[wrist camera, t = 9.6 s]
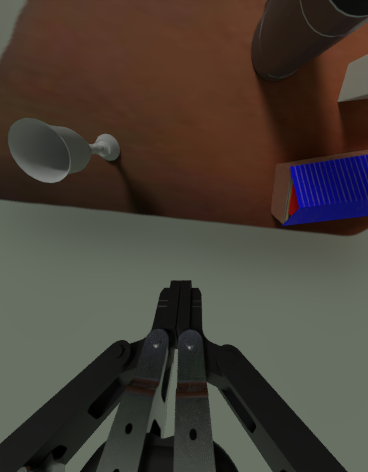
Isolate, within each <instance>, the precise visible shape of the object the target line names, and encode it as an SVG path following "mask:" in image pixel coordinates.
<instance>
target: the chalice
mask: <svg viewBox="0 0 368 472" xmlns="http://www.w3.org/2000/svg"><path fill="white" fill-rule="evenodd" d="M8 145H9V148H10V151H11V154H12V156H13V158H14V159H15V161H16V162H17V164H18V165H19V166H20V167H21V168H22V169H23V170H24V171H25V172H26V173H27V174H29V175H30V176H32V177H33V178H35V179H37V180H40V181H43V182H50V183H53V182H57V181H60V180H62V179H63V178H64V177H66V175H67V174H71V173H75V172H78V171H81V170H82V169H83V168H85V166H86V165H87V164H88V162H89V161H90V158H91V154H94V153H96V154H99V155H100V156H101V157H102V158H104V159H106V160H109V161H112V160H115V159H116V158H117V157H118V156H119V153H120V147H119V144H118V142H117V141H116V139H115V138H114V137H112V136H111V135H109V134H102V135H100V136H99V137H98V138H97V140H96V142H95V144H93V145H92V144H88V143H87V142H86V140H85V139H84V138H83V137H81V136H80V135H79V134H77V133H76V132H74V131H73V130H71V129H68V128H66V127H58V126H49V125H48V124H47V123H44V122H42V121H40V120H37V119H33V118H23V119H20V120H17V121H16V122H15V123H14V124H13V125H12V126H11V128H10V131H9V133H8Z"/></svg>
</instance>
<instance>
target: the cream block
mask: <svg viewBox="0 0 368 472" xmlns="http://www.w3.org/2000/svg"><path fill="white" fill-rule="evenodd" d="M361 99H368V54H367V55H365V56H363V57H361V58H359V59H357V60H355V61H353V62H351V63H349V65H348V68H347V72H346V75H345V78H344V82H343V85H342V89H341V92H340V95H339V99H338V102H343V101H352V100H361Z"/></svg>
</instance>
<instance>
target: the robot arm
mask: <svg viewBox="0 0 368 472" xmlns="http://www.w3.org/2000/svg"><path fill="white" fill-rule="evenodd" d="M367 22H368V0H267V1H266V3H265V10H264V14H263V16H262V18H261V20H260V21H259V23H258V25H257V28H256V30H255V33H254V36H253V41H252V49H251V54H252V62H253V66H254V68H255V70H256V72H257V73H258V74H259V76H260V77H262V78H263V79H265V80H268V81H279V80H282V79H284V78H286V77H288V76H289V75H291V74H293V73H294V72H296V71H297V70H298V69H300V68H301V67H303V66H304V65H306V64H307V63H309V62H310V61H311V60H313V59H314V58H316V57H317V56H319V55H320V54H322V53H323V52H325V51H326V50H328V49H329V48H330V47H332V46H333V45H335V44H336V43H338V42H339V41H341V40H342V39H344V38H345V37H347V36H348V35H349V34H351V33H352V32H354V31H355V30H357V29H358V28H360V27H361V26H363V25H364V24H365V23H367ZM175 349H178V370H177V374H178V375H177V389H176V398H175V399H176V400H175V432H174V436H171V437H168V438H164V439H163V436H164V430H165V423H166V415H167V400H168V394H169V388H170V382H171V376H172V370H173V364H174V351H175ZM206 382H208V383H210V384H212V385H214V386H216V387H217V388H218V390H219V391H220V393H221V394H222V395H223V397H224V399H225V400H226V402H227V403H228V405H229V406H230V408H231V409H232V411H233V412H234V414H235V415H236V417H237V418H238V420H239V421H240V423H241V424H242V426H243V427H244V429H245V430H246V432H247V434H248V435H249V437H250V438H251V439H252V441H253V442H254V444H255V445H256V447H257V448H258V450H259V452H260V453H261V455H262V456H263V458H264V459H265V461H266V462H267V464H268V465H269V467H270V468H271V470H272V471H273V472H347V471H346V470H345V468H344V467H343V466H342V465H341V464H340V463H339V462H338V461H337V460H336V458H335V457H334V456H333V455H332V454H331V453H330V452H329V451H328V449H326V447H325V446H324V445H323V444H322V443H321V442H320V441H319V439H318V438H317V437H316V436H315V435H314V434H313V433H312V432H311V430H309V428H308V427H307V426H306V425H305V424H304V423H303V422H302V420H301V419H300V418H299V417H298V416H297V415H296V414H295V412H294V411H293V410H292V409H291V408H290V407H289V406H288V405H287V403H286V402H285V401H284V400H283V399H282V398H281V397H280V396H279V395H278V393H277V392H276V391H275V390H274V389H273V388H272V387H271V386H270V384H269V383H268V382H267V381H266V380H265V379H264V378H263V377H262V376H261V374H260V373H259V372H258V371H257V370H256V369H255V368H254V367H253V365H252V364H251V363H250V362H249V361H248V360H247V359H246V358H245V356H244V355H242V353H241V352H240V351H239V350H238V349H237V348H236V347H234V346H232V345H228V344H227V345H223V346H219V345H217V344H214V343H212V342H210V341H209V340H208V339H207V338H206V337H205V336H204V334H203V330H202V301H201V292H200V290H199V288H192V283H191V280H189V281H188V280H187V281H184V280H183V281H171V285H170V288H164V289H163V290H162V292H161V293H160V297H159V301H158V305H157V309H156V314H155V318H154V322H153V326H152V330H151V332H150V333H149V334H148V335H147V337H146V338H144V339H142V340H140V341H137V342H134V343H131V344H129V343H128V342H127V341H125V340H120V341H117V342H115V343H113V344H112V345H111V346H110V347H109V348H107V349H106V350H105V351H104V352H103V353H102V354H101V355H100V356H98V357H97V358H96V359H95V360H94V361H93V362H92V363H91V364H89V365H88V366H87V367H86V368H85V369H84V370H83V371H82V372H81V373H79V374H78V375H77V376H76V377H75V378H74V379H73V380H71V381H70V382H69V383H68V384H67V385H66V386H65V387H64V388H62V389H61V390H60V391H59V392H58V393H57V394H56V395H55V396H53V397H52V398H51V399H50V400H49V401H48V402H47V403H46V404H44V405H43V406H42V407H41V408H40V409H39V410H38V411H36V412H35V413H34V414H33V415H32V416H31V417H30V418H29V419H28V420H26V421H25V422H24V423H23V424H22V425H21V426H20V427H19V428H18V429H16V430H15V431H14V432H13V433H12V434H11V435H10V436H8V437H7V438H6V439H5V440H4V441H3V442H2V443H1V444H0V472H64V471H65V465H66V464H67V463H68V461H69V460H70V459H71V458H72V457H73V456H74V455H75V453H76V452H77V451H78V450H79V449H80V448H81V446H82V445H83V444H84V443H85V442H86V440H87V439H88V438H89V437H90V436H91V435H92V434H93V433H94V431H95V430H96V429H97V428H98V427H99V426H100V425H101V423H102V422H103V421H104V420H105V419H106V418H107V416H108V415H109V414H110V413H111V412H112V411H113V409H114V408H115V407H116V406H117V405H118V404H119V403H120V404H119V407H118V410H117V412H116V415H115V418H114V421H113V424H112V427H111V430H110V433H109V436H108V439H107V441H105V442H104V443H103V444H102V445H101V446H100V447H99V448H98V449H97V450H96V452H95V453H94V454H93V456H92V457H91V458H90V459H89V461H88V462H87V463H86V464H85V466H84V467H83V468H82V470H81V471H80V472H238V470H237V468H236V466H235V464H234V463H233V461H232V460H231V458H230V457H229V455H228V454H227V453H226V452H225V451H224V449H222V448H221V447H220V446H219V445H218V444H217V443H215V442H214V441H213V438H212V429H211V418H210V408H209V399H208V389H207V383H206Z"/></svg>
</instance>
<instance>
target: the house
mask: <svg viewBox="0 0 368 472" xmlns="http://www.w3.org/2000/svg"><path fill="white" fill-rule="evenodd" d="M292 180H293V182H292ZM291 186H292V189H291ZM290 193H291V195H290ZM289 199H290V202H289ZM288 206H289V208H288ZM298 207H299V208H298ZM271 214H272V215H273V216H275V217H276V218H277V219H278V220H279V221H280V222H281V223H282V224H283V225H282V226H286V225H295V224H303V223H312V222H320V221H329V220H337V219H346V218H354V217H363V216H368V149H366V150H360V151H354V152H348V153H341V154H335V155H329V156H323V157H317V158H310V159H304V160H298V161H292V162H286V163H279V164H276V168H275V177H274V187H273V197H272V207H271Z"/></svg>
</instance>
